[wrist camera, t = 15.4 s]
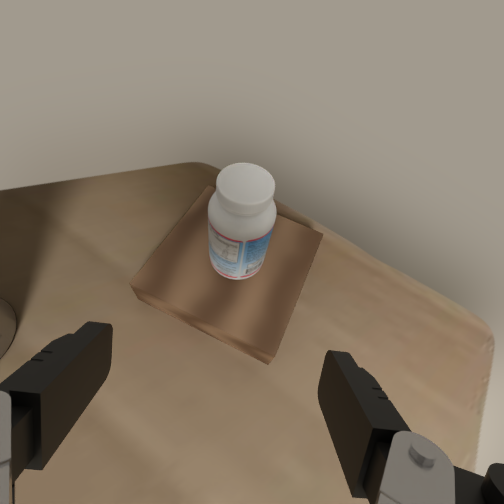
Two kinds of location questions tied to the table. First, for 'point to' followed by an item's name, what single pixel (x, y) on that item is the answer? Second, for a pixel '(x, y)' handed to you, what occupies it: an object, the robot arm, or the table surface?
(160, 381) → the table surface
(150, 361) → the table surface
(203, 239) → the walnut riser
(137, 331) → the table surface
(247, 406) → the table surface
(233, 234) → the pill bottle
